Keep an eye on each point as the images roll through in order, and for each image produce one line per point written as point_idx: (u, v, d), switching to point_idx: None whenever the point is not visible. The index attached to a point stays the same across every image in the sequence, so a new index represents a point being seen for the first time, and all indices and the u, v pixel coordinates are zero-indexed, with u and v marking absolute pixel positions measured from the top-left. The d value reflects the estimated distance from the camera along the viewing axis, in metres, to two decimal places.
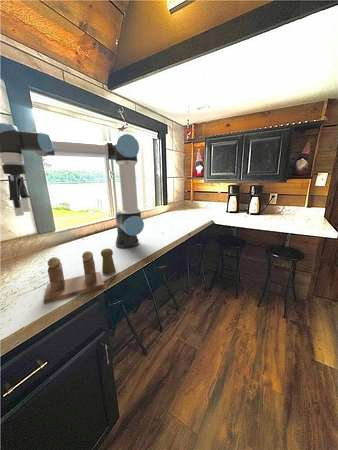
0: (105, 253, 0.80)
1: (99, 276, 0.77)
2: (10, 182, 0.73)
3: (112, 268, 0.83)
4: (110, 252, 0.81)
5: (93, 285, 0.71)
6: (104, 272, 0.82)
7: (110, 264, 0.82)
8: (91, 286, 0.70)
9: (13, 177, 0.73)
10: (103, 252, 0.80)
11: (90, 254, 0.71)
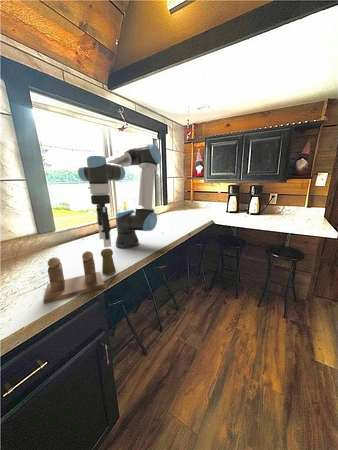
0: (105, 253, 0.80)
1: (99, 276, 0.77)
2: (102, 214, 0.72)
3: (112, 268, 0.83)
4: (110, 252, 0.81)
5: (93, 285, 0.71)
6: (104, 272, 0.82)
7: (110, 264, 0.82)
8: (91, 286, 0.70)
9: (105, 209, 0.72)
10: (103, 252, 0.80)
11: (90, 254, 0.71)
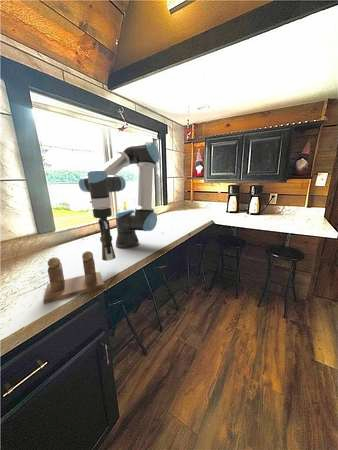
0: None
1: (99, 276, 0.77)
2: (105, 231, 0.75)
3: (112, 254, 0.82)
4: None
5: (93, 285, 0.71)
6: (104, 258, 0.81)
7: None
8: (91, 286, 0.70)
9: (107, 226, 0.74)
10: (102, 238, 0.79)
11: (90, 254, 0.71)
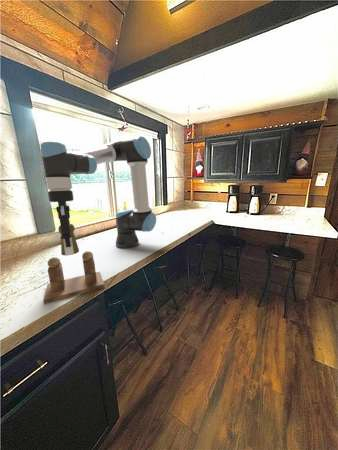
0: None
1: (99, 276, 0.77)
2: (61, 218, 0.60)
3: (73, 248, 0.67)
4: (70, 227, 0.66)
5: (93, 285, 0.71)
6: (63, 252, 0.66)
7: None
8: (91, 286, 0.70)
9: (64, 212, 0.60)
10: (60, 227, 0.65)
11: (90, 254, 0.71)
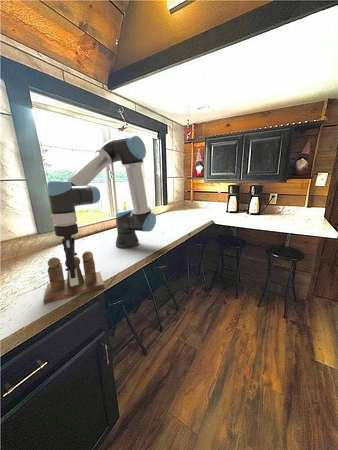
0: None
1: (99, 276, 0.77)
2: (66, 250, 0.62)
3: (79, 280, 0.70)
4: (76, 261, 0.69)
5: (93, 285, 0.71)
6: (69, 285, 0.69)
7: None
8: (91, 286, 0.70)
9: (69, 244, 0.62)
10: None
11: (90, 254, 0.71)
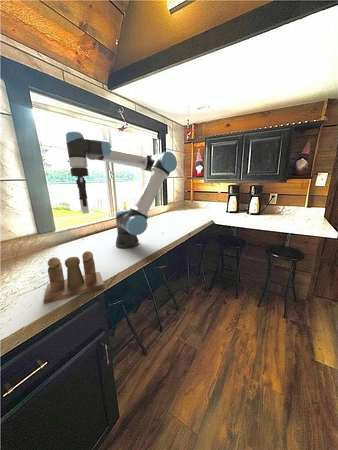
0: (69, 263, 0.68)
1: (99, 276, 0.77)
2: (80, 183, 0.82)
3: (79, 280, 0.70)
4: (76, 261, 0.69)
5: (93, 285, 0.71)
6: (69, 285, 0.69)
7: (76, 275, 0.70)
8: (91, 286, 0.70)
9: (82, 179, 0.82)
10: (67, 261, 0.68)
11: (90, 254, 0.71)
